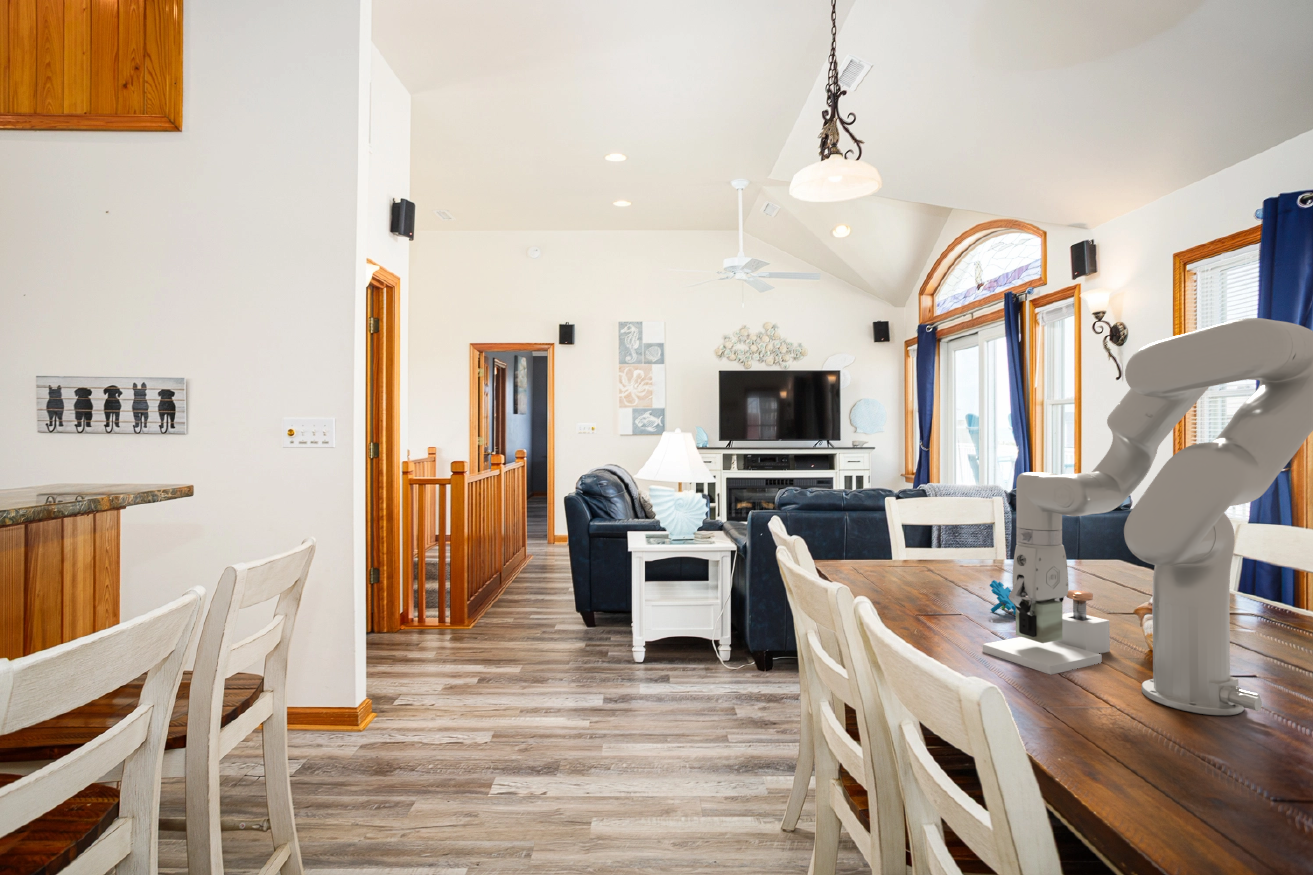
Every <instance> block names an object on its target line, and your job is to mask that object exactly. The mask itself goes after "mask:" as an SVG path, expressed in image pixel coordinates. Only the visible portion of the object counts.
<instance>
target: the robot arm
mask: <svg viewBox="0 0 1313 875" xmlns="http://www.w3.org/2000/svg"><path fill="white" fill-rule="evenodd" d="M1124 376H1125V382H1126V384H1128V387H1129V389H1128V391H1127V393H1126V394H1125V395H1124V396H1123V398H1122V399H1121V400H1120V401H1119V402H1118V404H1117V405H1116V406H1115V408H1114V409H1113V410H1112V411H1111V412H1110V413H1109V415H1108V417H1107V420H1106V424H1107V427H1108V429H1110V431H1111V434H1112V442H1111V444H1110V446H1109V449H1108V450H1107V452H1106V453H1105V455H1104V457H1102V459H1101V460H1100V461H1099V463H1098V464H1097V465H1096V466H1095V468H1094V469H1093V470H1092V471H1091V472H1079V473H1068V474H1067V473H1066V474H1056V473H1053V472H1045V471H1043V472H1041V471H1038V472H1037V471H1027V472H1026V471H1025V472H1022V473H1020V474H1018V475H1017V478H1016V486H1015V487H1016V492H1015V493H1016V494H1015V495H1016V497H1015V499H1016V503H1015V504H1016V510H1015V511H1016V513H1015V514H1016V525H1015V526H1016V545H1015V550H1014V555H1013V556H1014V557H1013V565H1012V583H1011V584H1012V589H1011V592H1010V594H1009V599H1010V600H1011V601H1012V603H1013V604H1014V606H1015V607H1016V608H1017V612H1019V632H1020V633H1021V634H1024V635H1028V636H1031V637H1036V616H1035V615H1034V611H1035V607H1036V602H1037V601H1045V600H1054V601H1059V602H1062V603H1063V602H1064V599H1065V597H1066V595H1067V594H1068V591H1069V569H1068V561H1067V554H1066V550H1065V545H1063V516H1065V517H1066V516H1068V517H1082V516H1089V515H1095V514H1105V513H1109V512H1112V511H1113V510H1115V509H1116V508H1117V509H1118V507H1119V506H1121V505H1122V504H1123V503H1124V502H1125V501H1126V500H1127V499H1128V498H1129V497H1130V495H1131V494H1132V493H1133V492H1134V491H1135V490H1136V489H1137V488H1138V487H1139V485H1141V483H1142V482H1143V481H1144V480H1145V478H1146V476H1147V474H1148V473H1149V472H1150V470H1151V467H1152V465H1153V464H1154V461H1155V459H1156V456H1157V453H1158V450H1159V446H1161V444H1162V443H1163V441H1164V440H1165V439H1166V438H1167V436H1169V435H1170V433H1171V432H1172V430H1174V428H1175V427H1176V426H1177V425H1178V423H1179V422H1180V421H1182V419H1183V417H1185V415H1186V414H1187V413H1188V412H1189V410H1191V409H1192V408H1193V407H1194V405H1195V404H1196V403H1197V402H1198V401H1199V400H1200V399H1201V397H1202V396H1203V395H1204V394H1205V393H1206V391H1207V390H1208V389H1209V388H1210V387H1214V386H1219V385H1224V384H1229V383H1234V382H1239V381H1247V380H1253V381H1259V385H1258V387H1257V389H1256V391H1255V392H1254V393H1253V394H1252V395H1251V396H1250V397H1249V398H1248V399H1246V400H1245V401H1244V403H1243V404H1242V405H1241V406H1240V407H1239V408H1238V409H1237V410H1236V411H1235V413H1234V415H1233V416H1232V417H1231V419H1230V421H1229V422H1228V424H1227V425H1225V427H1224V428H1223V429H1222V431H1221V432H1220V433H1219V434H1218V435H1217V437H1216V438H1214V439H1213V440H1212V441H1211V442H1198V443H1195V444H1191V445H1189V446H1186V447H1183V448H1182V449H1180V450H1179V451H1177V452H1176V453H1175V454H1174V455H1173V456H1171V457H1170V458H1169V459H1168V460H1167V461H1166V462H1165V463H1164V465H1163V466H1162V467H1161V469H1160V470H1159V472H1158V473H1157V474H1156V476H1155V477H1154V478H1153V480H1152V481H1151V482H1150V484H1149V485H1148V487H1147V488H1146V489H1145V491H1144V492H1143V493H1142V495H1141V497H1140V498H1139V499H1138V501H1137V502H1136V504H1135V505H1134V506H1133V508H1132V509H1131V511H1129V512H1130V513H1129V514H1128V516H1127V518H1126V521H1125V523H1124V527H1123V534H1124V535H1123V536H1124V541H1125V544H1126V546H1127V547H1128V548H1127V549H1128V550H1129V551H1130V552H1131V553H1132V555H1134V556H1135V557H1136V558H1138V559H1139V560H1140V561H1142V562H1145V563H1147V564H1149V565H1153V566H1154V569H1153V574H1152V586H1151V587H1152V588H1151V589H1152V598H1151V600H1152V609H1151V610H1152V678H1151V679H1147V680H1144V681H1143V682H1142V683H1141V685H1140V686H1141V692H1142V694H1143V695H1145V697H1147V698H1148V699H1150V700H1152V701H1154V702H1155V703H1157V704H1160V705H1164V706H1167V707H1170V708H1173V709H1176V710H1181V711H1185V712H1188V713H1194V714H1201V715H1202V714H1203V715H1210V716H1232V715H1238V714H1241V713H1242V712H1244V711H1245V710H1244V708H1246V709H1248V710H1252V711H1256V712H1259V711H1260V710H1261V709H1262V706H1263V702H1262V699H1261V696H1260V694H1259V693H1256V692H1251V691H1249V690H1245V689H1242V688H1241V687H1240V686H1239V678H1237V677H1233V676H1231V640H1230V639H1231V636H1230V633H1231V631H1230V630H1231V628H1230V624H1231V623H1230V622H1231V621H1230V600H1231V598H1230V595H1231V594H1230V593H1231V592H1230V591H1231V590H1230V583H1231V582H1230V580H1231V568H1232V562H1233V557H1234V551H1235V543H1236V542H1235V540H1236V539H1235V530H1234V525H1233V524H1232V522H1231V520H1230V518H1229V517H1228V515H1227V514H1226V513H1225V512H1226V511H1227V510H1228V509H1229V507H1233V506H1241V505H1243V504H1249V503H1251V502H1254V501H1255V500H1257V499H1259V498H1260V497H1262V496H1263V495H1264V494H1265V493H1266V492H1267V491H1268V489H1270V486H1271V485H1272V484H1273V483H1274V481H1275V480H1276V478H1277V477H1278V476H1279V475H1280V474H1281V472H1282V470H1283V469H1284V468H1285V467H1286V466H1287V464H1288V463H1289V462H1290V461H1291V460H1292V459H1293V457H1294V456H1295V455H1296V454H1297V452H1298V451H1299V450H1300V448H1301V447H1302V445H1304V442H1305V441H1306V440H1307V439H1308V438H1309V436H1310V435H1311V434H1312V433H1313V330H1312V329H1310V328H1307V327H1305V326H1303V325H1300V324H1297V323H1292V322H1288V321H1283V320H1281V321H1280V320H1273V319H1267V318H1262V317H1260V318H1259V317H1251V318H1250V317H1247V318H1240V319H1235V320H1230V321H1225V322H1224V323H1219V324H1216V325H1212V326H1209V327H1204V328H1201V329H1198V330H1194V331H1191V332H1187V333H1184V334H1180V335H1175V336H1172V337H1169V338H1165V339H1162V340H1157V341H1155V342H1151V343H1149V344H1147V345H1145V346H1143V347H1141V348H1140V349H1138V350H1137V351H1136V352H1135V353H1133V354H1132V356H1131V357H1130V358H1129V359H1128V361H1127V363H1126V365H1125V370H1124ZM1026 600H1027V601H1030V602H1029V606H1028V605H1027V604H1026V603H1025V601H1026Z"/></svg>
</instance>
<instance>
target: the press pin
mask: <svg viewBox="0 0 1313 875" xmlns="http://www.w3.org/2000/svg"><path fill="white" fill-rule="evenodd" d="M1065 597H1066V598H1068V599H1070V600H1072V601H1073V602H1072V607H1073V608H1072V612H1073V619H1076V620H1080V621H1085V620H1086V615H1087V602H1088V601H1093V600H1094V598H1093V597H1094V593H1092V592H1090V591H1086V590H1078V589H1077V590H1075V589H1070V590H1069V589H1068V594H1067V595H1066V596H1065Z"/></svg>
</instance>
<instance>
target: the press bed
mask: <svg viewBox="0 0 1313 875" xmlns="http://www.w3.org/2000/svg"><path fill="white" fill-rule="evenodd" d="M1110 627H1111V626H1110V620H1109V619H1106V618H1100V617H1096V616H1093V615H1090V614H1089V615H1088V614H1086V620H1085V621H1080V620H1076V619H1073V611H1072V612H1068V613H1067V612H1066V613H1062V640H1057V641H1052V642H1047V643H1040V642H1037V641H1033V640H1030V639H1027V638H1024V637H1020V636H1018V637H1012V638H1007V639H1003V640H1002V639H1001V640H997V641H996V640H995V641H992V642H986V643H982V653H984V654H987V655H991V656H994V657H996V658H1000V659H1003V660H1006V661H1007V662H1008V661H1010V662H1012V663H1015V664H1018V665H1021V666H1024V667H1026V668H1030V669H1033V670H1036V671H1038V672H1041V673H1045V674H1047V675H1055V674H1060V673H1063V672H1068V671H1073V670H1078V669H1082V668H1085V667H1090V666H1094V664H1095V665H1099V664H1102V663H1101V662H1103V660H1102V659H1103V658H1102V656H1103V655H1102V654H1104V653H1109V652H1110V651H1111V650H1110V649H1111V648H1110V646H1111V644H1110V642H1111V640H1110V638H1111V635H1110V634H1111V633H1110V630H1111V629H1110ZM1099 653H1100V654H1099ZM1098 663H1099V664H1098ZM1077 668H1078V669H1077ZM1072 669H1073V670H1072Z"/></svg>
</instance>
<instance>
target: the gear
mask: <svg viewBox="0 0 1313 875" xmlns="http://www.w3.org/2000/svg"><path fill="white" fill-rule="evenodd" d="M1004 586H1005V585H1004V584H1003V582H1001V581H997V580H995V579H993V580H992V581H991V582H990V583H989V587H990V588H991V593H992V594H993V595H995V596H997V597H996V599H997V601H998V603H996V604H995V605H994V606H993V607H991V608H990V609H989V610H990V611H991V612H992V613H996V612H997V611H998V610H1000V608H1001V609H1002V610H1005V609H1006V610H1007V611H1011V610H1012V614H1013V615H1014V616H1016V607H1015V606H1014V604H1013V603H1012V601H1011V600H1010V599H1009V594H1010V593H1011V591H1012V589H1010V587H1008V586H1007V587H1004Z"/></svg>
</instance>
